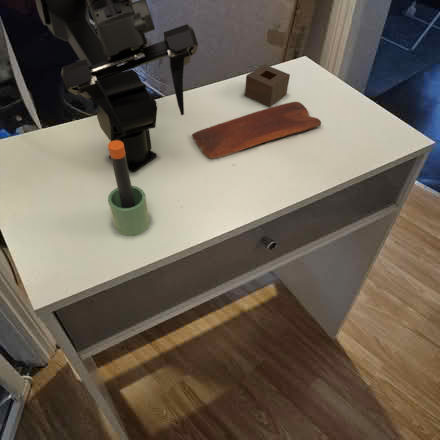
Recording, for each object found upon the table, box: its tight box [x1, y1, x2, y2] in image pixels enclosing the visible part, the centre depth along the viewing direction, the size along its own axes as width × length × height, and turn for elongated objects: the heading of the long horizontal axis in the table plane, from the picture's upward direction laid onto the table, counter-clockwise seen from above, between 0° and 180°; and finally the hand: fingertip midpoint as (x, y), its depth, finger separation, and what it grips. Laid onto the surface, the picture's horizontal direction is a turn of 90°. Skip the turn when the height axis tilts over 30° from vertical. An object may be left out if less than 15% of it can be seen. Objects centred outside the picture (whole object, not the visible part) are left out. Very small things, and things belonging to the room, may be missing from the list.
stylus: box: [107, 140, 135, 208], centre depth 58 cm, size 2×2×14 cm
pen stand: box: [244, 64, 291, 108], centre depth 86 cm, size 7×7×4 cm
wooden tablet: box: [191, 101, 322, 159], centre depth 79 cm, size 27×10×2 cm, turn 118°
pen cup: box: [107, 184, 150, 237], centre depth 62 cm, size 6×6×6 cm
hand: (153, 125), depth 58 cm, fingers open, 9 cm apart
